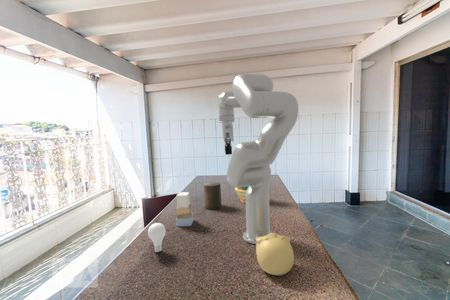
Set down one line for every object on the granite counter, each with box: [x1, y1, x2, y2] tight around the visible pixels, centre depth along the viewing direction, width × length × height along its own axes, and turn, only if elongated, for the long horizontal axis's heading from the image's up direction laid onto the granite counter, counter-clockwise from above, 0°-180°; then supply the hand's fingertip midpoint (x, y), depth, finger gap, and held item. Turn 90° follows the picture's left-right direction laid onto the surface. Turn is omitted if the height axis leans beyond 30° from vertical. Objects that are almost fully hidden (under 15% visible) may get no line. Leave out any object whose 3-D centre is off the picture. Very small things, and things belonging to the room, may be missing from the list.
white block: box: [176, 191, 191, 208], centre depth 111 cm, size 5×5×6 cm
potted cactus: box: [234, 186, 249, 204], centre depth 141 cm, size 16×15×25 cm
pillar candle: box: [203, 181, 222, 210], centre depth 133 cm, size 10×10×15 cm
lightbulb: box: [147, 222, 166, 253], centre depth 87 cm, size 6×6×11 cm
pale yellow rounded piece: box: [255, 232, 295, 276], centre depth 73 cm, size 11×12×11 cm
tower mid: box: [175, 203, 192, 219], centre depth 112 cm, size 6×6×5 cm
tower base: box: [175, 212, 195, 227], centre depth 112 cm, size 7×7×4 cm
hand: (228, 153), depth 117 cm, fingers open, 9 cm apart
